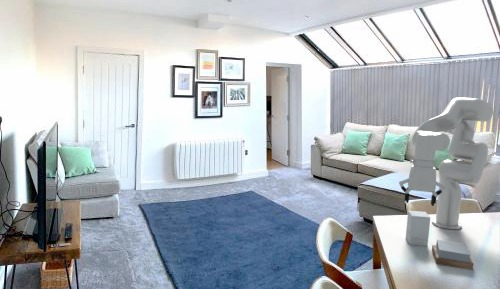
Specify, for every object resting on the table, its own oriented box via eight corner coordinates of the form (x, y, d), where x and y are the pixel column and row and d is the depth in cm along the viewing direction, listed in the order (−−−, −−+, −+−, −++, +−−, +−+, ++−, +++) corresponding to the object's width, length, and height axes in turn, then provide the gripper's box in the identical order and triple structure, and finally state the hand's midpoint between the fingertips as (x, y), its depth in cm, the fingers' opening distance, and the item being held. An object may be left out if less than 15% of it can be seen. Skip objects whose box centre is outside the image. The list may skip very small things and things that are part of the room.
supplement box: (428, 246, 151) (430, 217, 149) (409, 244, 153) (411, 215, 151) (423, 239, 158) (426, 211, 156) (405, 237, 160) (407, 210, 158)
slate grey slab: (436, 246, 145) (436, 239, 145) (464, 251, 142) (465, 244, 141) (438, 257, 136) (439, 249, 136) (469, 262, 133) (470, 254, 132)
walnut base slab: (431, 251, 148) (432, 244, 147) (465, 256, 144) (466, 249, 143) (436, 265, 136) (436, 257, 136) (472, 271, 133) (473, 263, 132)
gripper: (401, 163, 149) (397, 203, 152) (448, 167, 144) (444, 209, 146) (400, 160, 156) (396, 198, 159) (445, 163, 151) (441, 203, 153)
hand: (419, 203), depth 153 cm, fingers open, 9 cm apart
